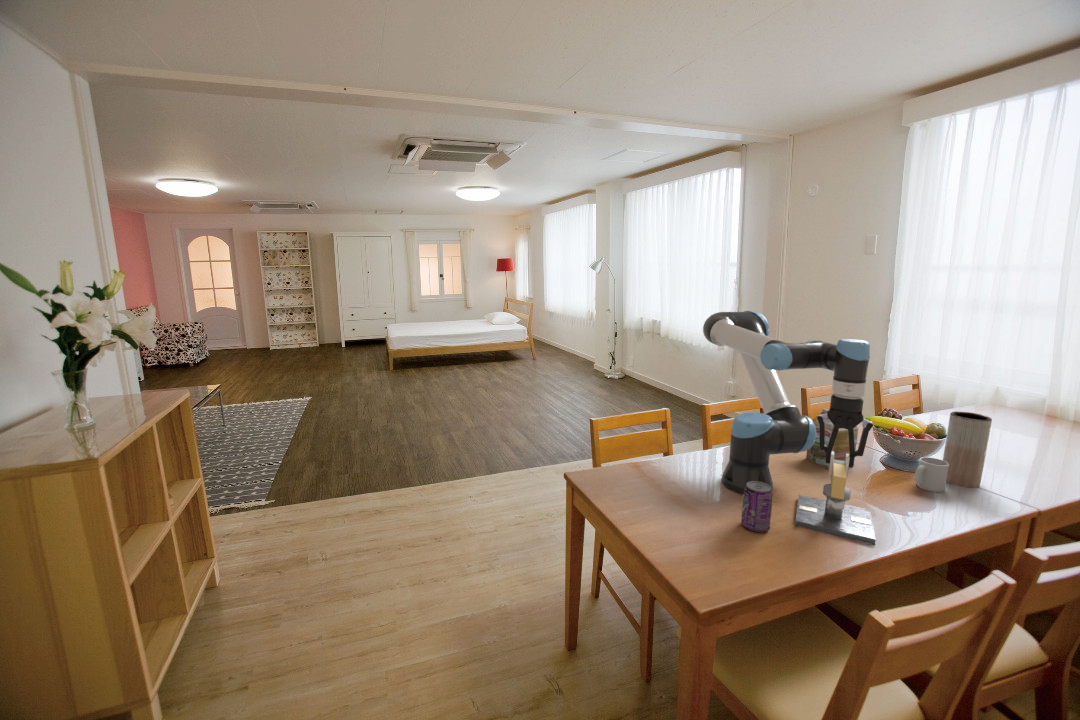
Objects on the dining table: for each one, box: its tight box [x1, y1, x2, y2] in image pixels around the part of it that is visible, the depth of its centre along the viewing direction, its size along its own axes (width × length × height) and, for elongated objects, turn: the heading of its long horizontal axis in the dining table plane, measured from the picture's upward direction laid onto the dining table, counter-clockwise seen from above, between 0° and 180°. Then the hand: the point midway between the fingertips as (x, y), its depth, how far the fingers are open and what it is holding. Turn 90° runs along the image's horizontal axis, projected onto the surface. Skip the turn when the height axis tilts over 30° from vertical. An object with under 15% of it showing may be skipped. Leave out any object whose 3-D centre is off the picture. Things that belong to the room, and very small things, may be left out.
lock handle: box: [822, 459, 852, 502], centre depth 130 cm, size 6×13×8 cm, turn 149°
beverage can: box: [740, 481, 774, 533], centre depth 127 cm, size 7×7×12 cm
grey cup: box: [914, 456, 949, 493], centre depth 151 cm, size 7×10×9 cm
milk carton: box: [805, 408, 859, 470], centre depth 171 cm, size 11×11×19 cm
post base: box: [794, 494, 877, 546], centre depth 131 cm, size 18×18×7 cm
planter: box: [942, 410, 993, 488], centre depth 154 cm, size 10×10×23 cm
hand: (837, 475), depth 134 cm, fingers closed on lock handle, 3 cm apart
